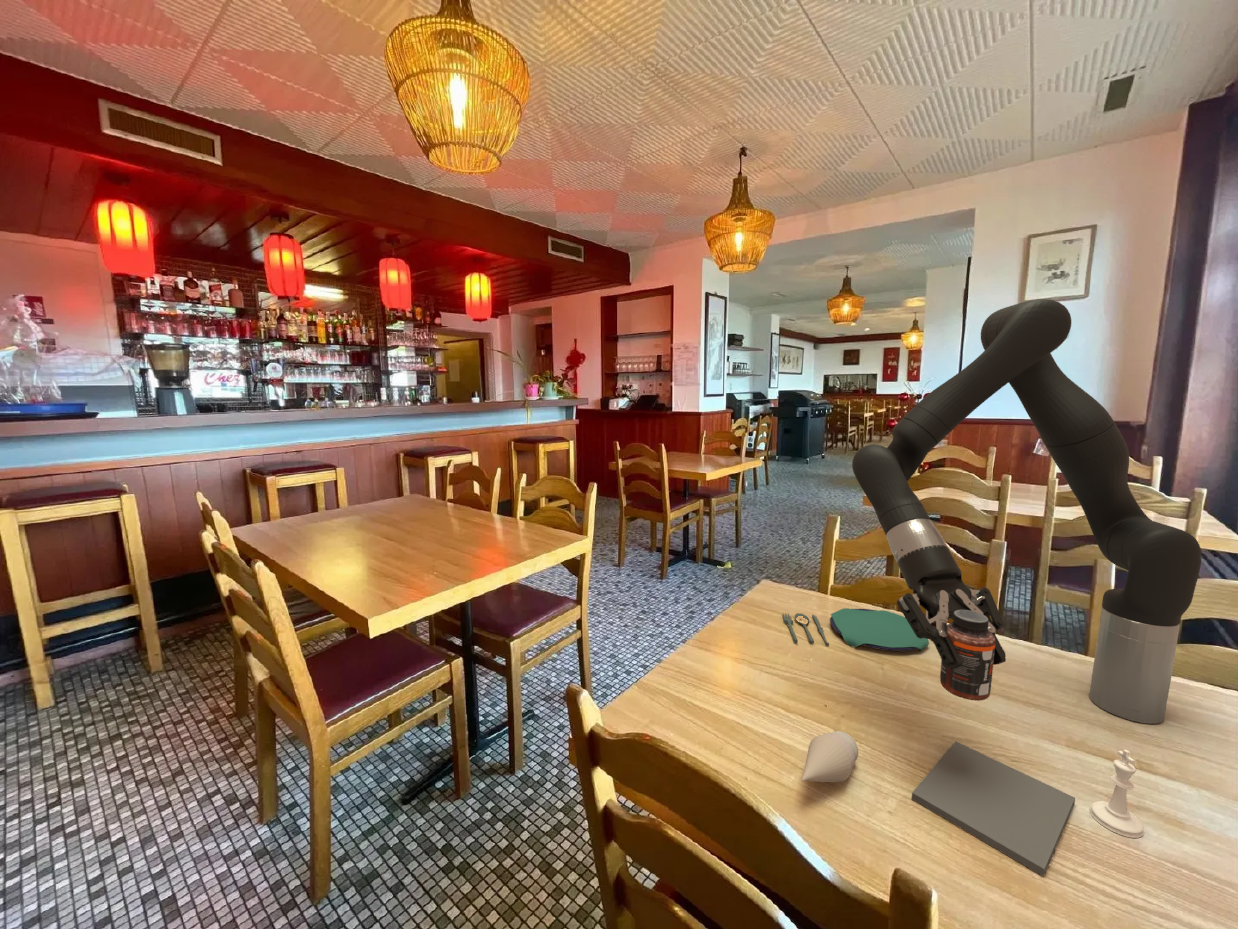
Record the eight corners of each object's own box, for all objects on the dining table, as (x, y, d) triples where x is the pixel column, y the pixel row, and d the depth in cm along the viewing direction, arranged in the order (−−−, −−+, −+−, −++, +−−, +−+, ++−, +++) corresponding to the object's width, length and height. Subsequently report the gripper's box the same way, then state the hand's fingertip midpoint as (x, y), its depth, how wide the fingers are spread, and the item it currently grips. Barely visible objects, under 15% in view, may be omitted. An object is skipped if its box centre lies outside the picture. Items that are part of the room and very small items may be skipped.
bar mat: (954, 746, 77) (955, 741, 77) (1074, 804, 66) (1075, 797, 66) (911, 799, 68) (912, 792, 67) (1043, 877, 57) (1044, 869, 56)
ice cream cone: (794, 810, 66) (841, 769, 76) (833, 803, 62) (877, 761, 72) (772, 760, 68) (820, 727, 79) (808, 750, 65) (854, 717, 75)
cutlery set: (944, 661, 102) (945, 651, 102) (792, 650, 107) (793, 640, 107) (906, 618, 122) (906, 609, 121) (779, 610, 127) (779, 602, 126)
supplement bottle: (999, 705, 67) (1007, 627, 65) (949, 700, 68) (956, 623, 67) (977, 680, 73) (984, 607, 71) (932, 676, 74) (938, 604, 72)
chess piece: (1114, 804, 66) (1125, 737, 65) (1155, 837, 61) (1167, 765, 60) (1079, 806, 66) (1088, 738, 65) (1117, 839, 61) (1128, 766, 60)
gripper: (891, 546, 74) (947, 662, 64) (978, 540, 76) (1045, 653, 66) (867, 567, 80) (915, 677, 70) (948, 562, 82) (1005, 668, 72)
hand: (977, 664), depth 68 cm, fingers closed on supplement bottle, 6 cm apart
